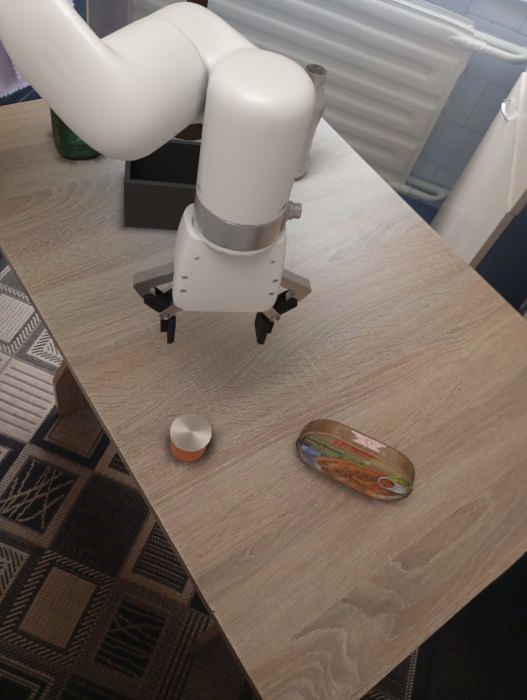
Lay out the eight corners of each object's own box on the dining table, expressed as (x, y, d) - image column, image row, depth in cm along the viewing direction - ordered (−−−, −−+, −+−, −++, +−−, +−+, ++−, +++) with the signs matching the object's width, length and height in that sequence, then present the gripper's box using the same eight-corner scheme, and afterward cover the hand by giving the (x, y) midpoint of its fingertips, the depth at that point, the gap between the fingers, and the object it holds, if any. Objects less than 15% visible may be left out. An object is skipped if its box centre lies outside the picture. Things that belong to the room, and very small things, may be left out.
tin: (287, 456, 73) (304, 426, 66) (296, 437, 74) (313, 406, 68) (395, 510, 71) (423, 485, 64) (401, 489, 73) (429, 462, 66)
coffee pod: (168, 464, 69) (170, 451, 66) (168, 427, 72) (169, 413, 68) (209, 464, 70) (212, 450, 67) (207, 427, 73) (210, 413, 70)
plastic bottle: (299, 188, 104) (330, 86, 88) (265, 174, 105) (290, 70, 89) (309, 169, 108) (341, 68, 92) (277, 156, 108) (303, 53, 92)
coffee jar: (106, 159, 98) (102, 54, 84) (59, 163, 96) (46, 55, 81) (95, 126, 103) (89, 20, 88) (49, 128, 100) (36, 19, 85)
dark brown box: (124, 226, 90) (124, 182, 83) (127, 178, 97) (127, 134, 90) (215, 233, 93) (222, 191, 86) (211, 186, 100) (218, 143, 93)
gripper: (328, 189, 51) (287, 308, 65) (133, 175, 47) (133, 304, 61) (345, 248, 47) (297, 362, 61) (132, 238, 43) (132, 362, 57)
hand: (215, 333), depth 61 cm, fingers open, 9 cm apart
